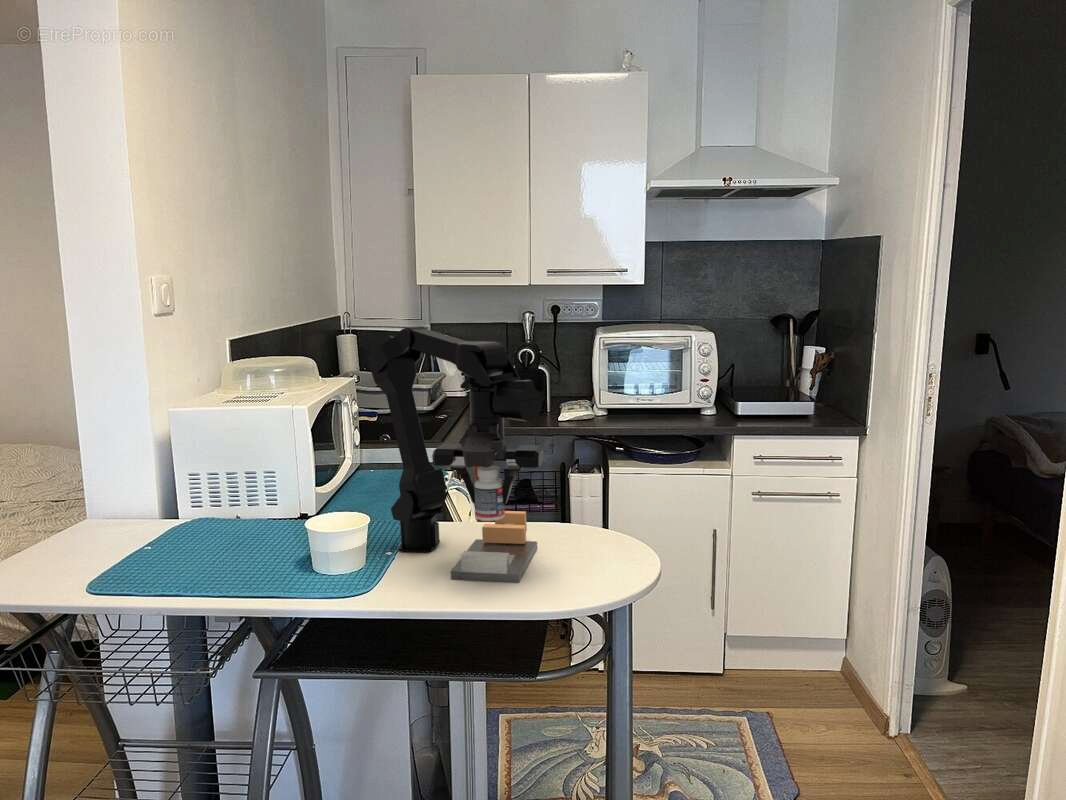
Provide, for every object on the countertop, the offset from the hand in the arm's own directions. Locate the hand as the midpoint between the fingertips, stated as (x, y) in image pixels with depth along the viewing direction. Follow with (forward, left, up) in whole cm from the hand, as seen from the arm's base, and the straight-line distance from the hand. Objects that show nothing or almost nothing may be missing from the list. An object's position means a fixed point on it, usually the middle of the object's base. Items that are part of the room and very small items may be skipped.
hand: (489, 503), depth 139 cm
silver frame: (0, +3, -12) cm, 13 cm away
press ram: (0, +13, -10) cm, 16 cm away
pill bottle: (0, 0, -3) cm, 3 cm away
